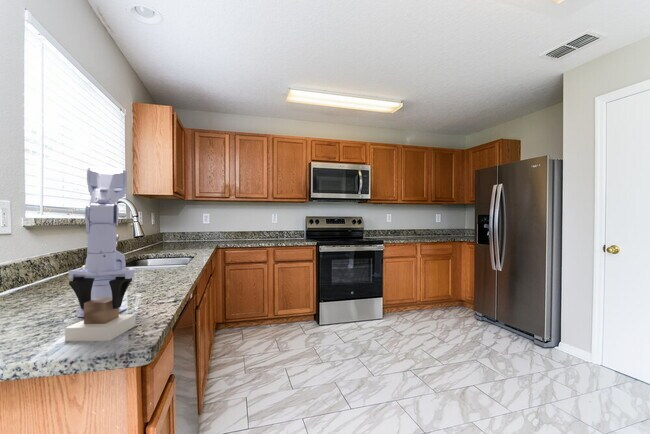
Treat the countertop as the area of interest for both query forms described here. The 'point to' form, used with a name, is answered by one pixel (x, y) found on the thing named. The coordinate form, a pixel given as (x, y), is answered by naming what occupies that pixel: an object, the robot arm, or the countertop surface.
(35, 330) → the countertop surface
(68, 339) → the cream plinth
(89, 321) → the walnut cube
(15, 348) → the countertop surface
